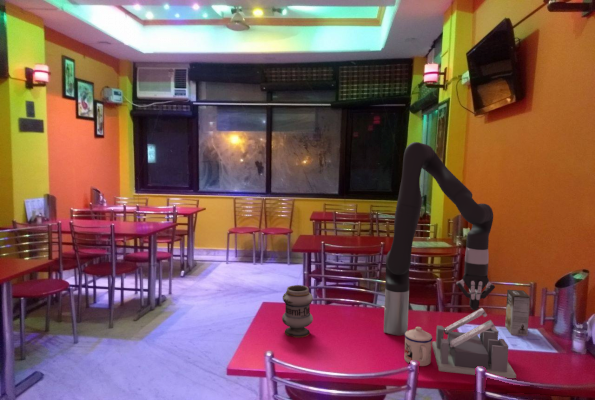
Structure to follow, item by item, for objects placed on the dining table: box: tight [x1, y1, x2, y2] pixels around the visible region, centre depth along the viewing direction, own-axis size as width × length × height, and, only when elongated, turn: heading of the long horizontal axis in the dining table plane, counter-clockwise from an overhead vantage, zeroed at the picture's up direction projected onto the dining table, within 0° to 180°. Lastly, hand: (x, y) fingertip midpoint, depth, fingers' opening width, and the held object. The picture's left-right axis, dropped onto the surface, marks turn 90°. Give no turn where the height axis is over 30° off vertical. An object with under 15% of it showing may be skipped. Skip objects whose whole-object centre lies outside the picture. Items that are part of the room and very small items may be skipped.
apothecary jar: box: [281, 284, 314, 338], centre depth 165 cm, size 12×12×18 cm
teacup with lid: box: [404, 326, 433, 367], centre depth 141 cm, size 12×9×12 cm
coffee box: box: [504, 289, 531, 337], centre depth 170 cm, size 9×6×16 cm
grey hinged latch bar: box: [443, 307, 488, 335], centre depth 149 cm, size 16×3×2 cm
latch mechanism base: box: [431, 325, 517, 379], centre depth 143 cm, size 23×20×10 cm
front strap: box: [448, 319, 497, 349], centre depth 137 cm, size 16×3×2 cm
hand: (474, 309), depth 148 cm, fingers closed
